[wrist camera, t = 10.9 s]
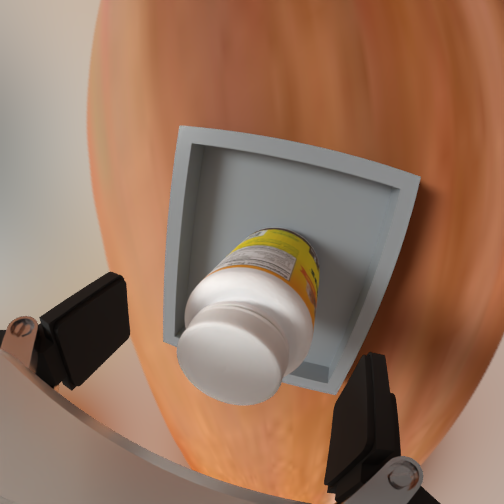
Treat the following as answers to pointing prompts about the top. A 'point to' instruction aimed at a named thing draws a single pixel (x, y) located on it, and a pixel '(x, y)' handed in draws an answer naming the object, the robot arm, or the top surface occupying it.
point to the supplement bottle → (251, 318)
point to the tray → (293, 218)
